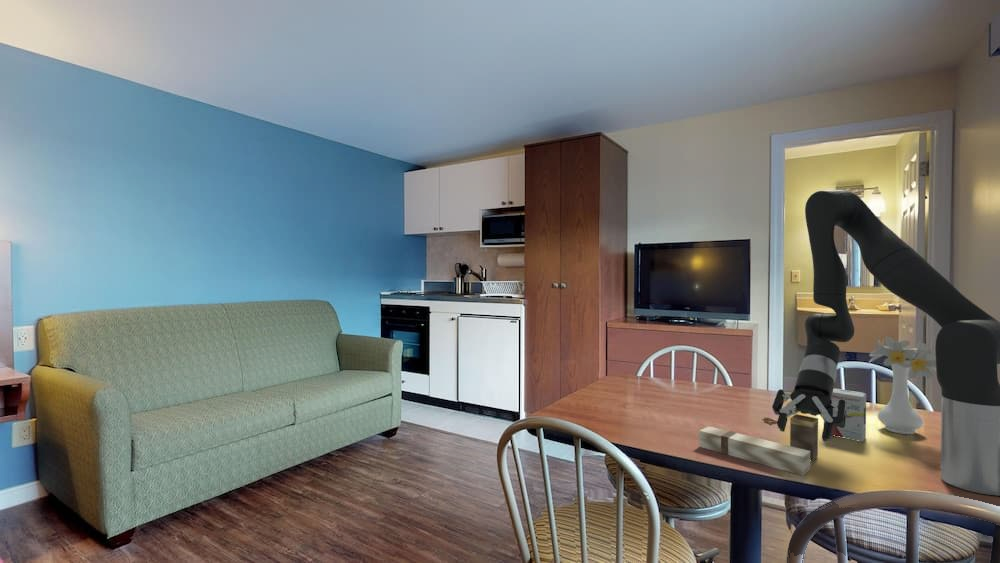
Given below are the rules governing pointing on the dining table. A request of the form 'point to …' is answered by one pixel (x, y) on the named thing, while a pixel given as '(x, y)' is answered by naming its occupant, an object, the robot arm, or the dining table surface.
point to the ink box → (850, 414)
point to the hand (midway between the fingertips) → (802, 434)
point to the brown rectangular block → (804, 434)
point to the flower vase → (903, 382)
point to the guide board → (756, 450)
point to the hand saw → (769, 420)
